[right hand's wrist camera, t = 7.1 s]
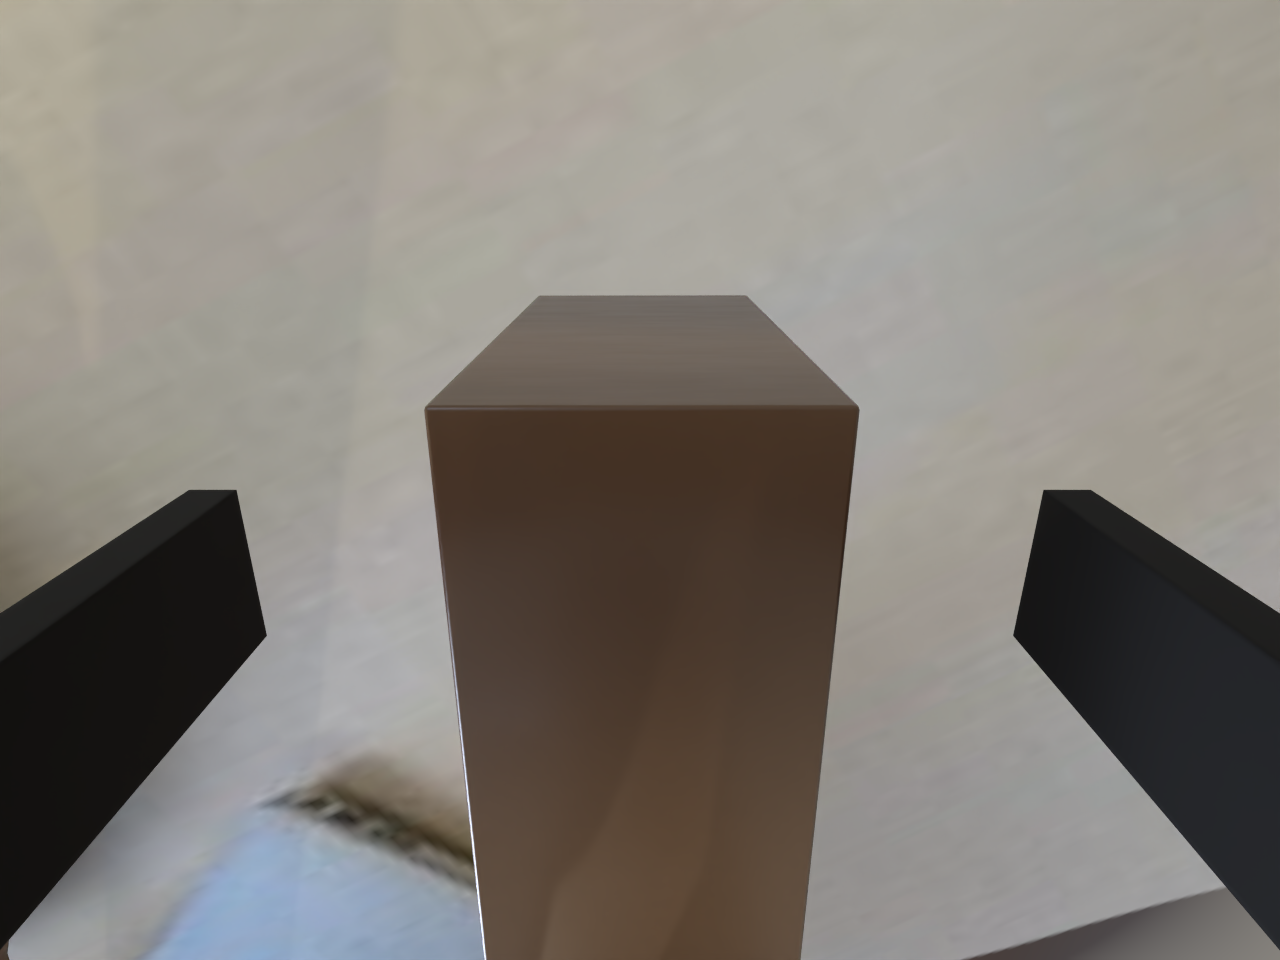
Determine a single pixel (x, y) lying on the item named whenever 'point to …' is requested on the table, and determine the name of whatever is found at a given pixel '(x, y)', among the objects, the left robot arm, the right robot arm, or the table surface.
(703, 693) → the bar
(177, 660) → the right robot arm
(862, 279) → the table surface
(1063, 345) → the table surface
